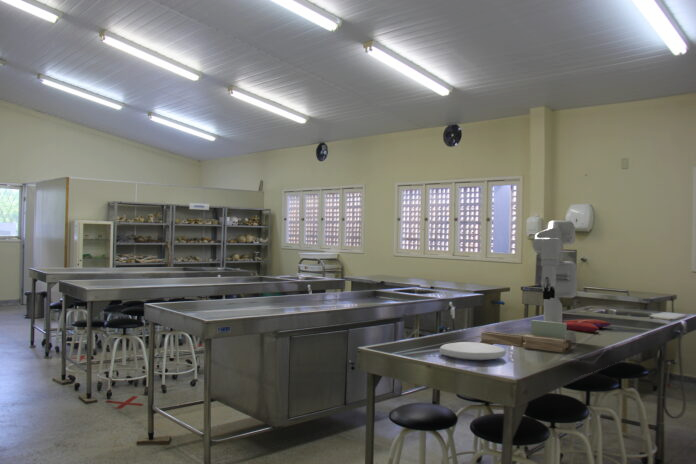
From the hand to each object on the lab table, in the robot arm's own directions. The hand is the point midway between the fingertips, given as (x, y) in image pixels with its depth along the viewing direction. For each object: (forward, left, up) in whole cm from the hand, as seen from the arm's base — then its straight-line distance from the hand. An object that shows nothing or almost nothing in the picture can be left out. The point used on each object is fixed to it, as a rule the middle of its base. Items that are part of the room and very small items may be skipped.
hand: (548, 298), depth 257 cm
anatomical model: (-83, 0, -25) cm, 86 cm away
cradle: (+3, -21, -25) cm, 32 cm away
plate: (+42, -23, -25) cm, 54 cm away
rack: (+3, 0, -25) cm, 25 cm away
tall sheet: (0, 0, -23) cm, 23 cm away
